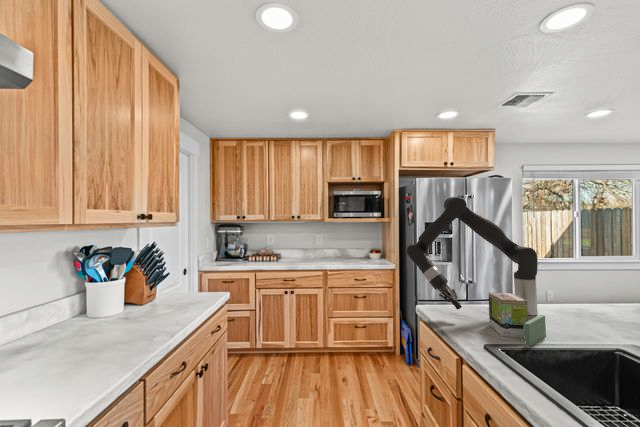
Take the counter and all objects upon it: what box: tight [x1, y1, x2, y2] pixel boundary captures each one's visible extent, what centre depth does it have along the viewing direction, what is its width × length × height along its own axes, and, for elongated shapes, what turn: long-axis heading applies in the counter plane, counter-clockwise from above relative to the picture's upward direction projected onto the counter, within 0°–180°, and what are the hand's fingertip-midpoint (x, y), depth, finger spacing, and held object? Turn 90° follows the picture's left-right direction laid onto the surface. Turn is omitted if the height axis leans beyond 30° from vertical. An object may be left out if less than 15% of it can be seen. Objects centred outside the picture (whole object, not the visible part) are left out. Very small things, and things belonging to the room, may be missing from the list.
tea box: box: [488, 292, 529, 339], centre depth 128 cm, size 15×10×15 cm, turn 169°
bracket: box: [523, 314, 547, 347], centre depth 118 cm, size 17×2×8 cm, turn 128°
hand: (459, 308), depth 142 cm, fingers closed
